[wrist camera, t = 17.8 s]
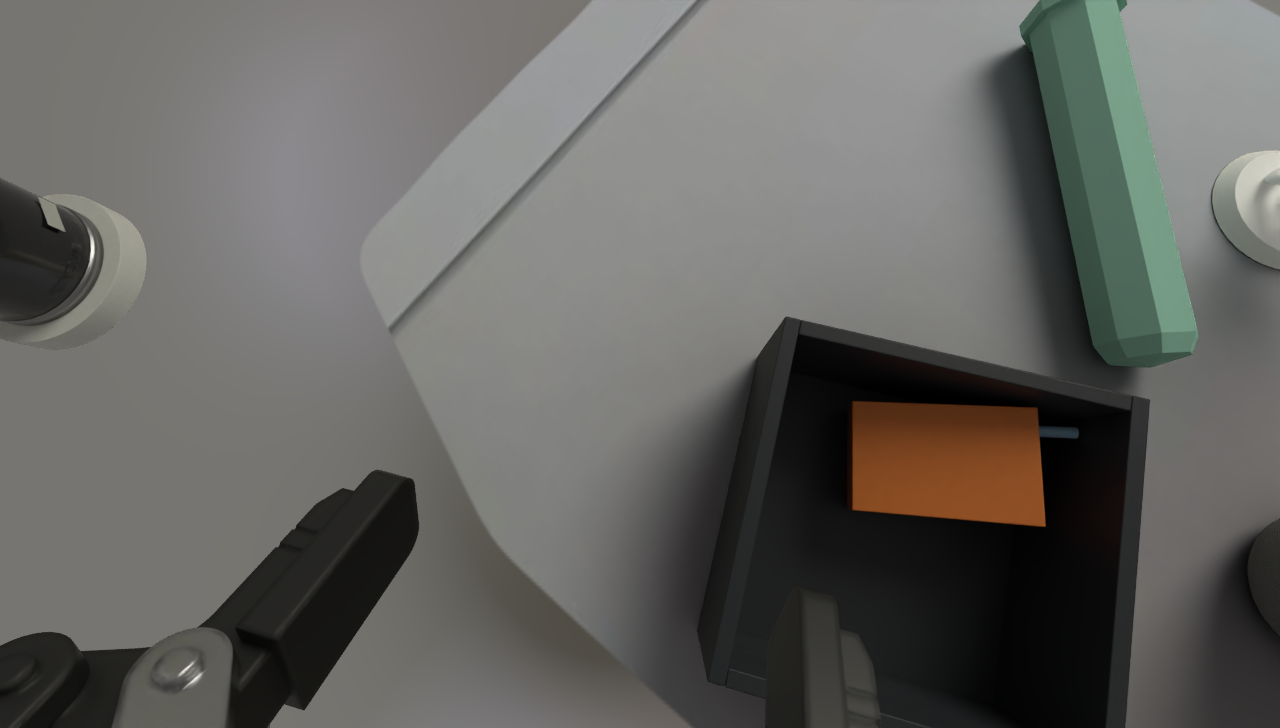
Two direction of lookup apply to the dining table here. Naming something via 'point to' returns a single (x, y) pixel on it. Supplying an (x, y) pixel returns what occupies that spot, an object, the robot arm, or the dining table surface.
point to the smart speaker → (1266, 574)
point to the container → (1110, 184)
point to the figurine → (1251, 205)
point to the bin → (933, 543)
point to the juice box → (948, 461)
